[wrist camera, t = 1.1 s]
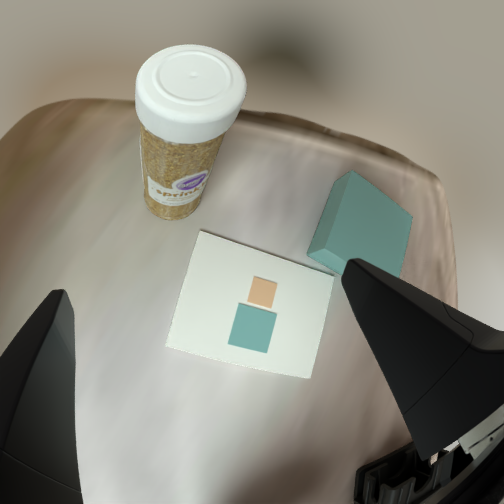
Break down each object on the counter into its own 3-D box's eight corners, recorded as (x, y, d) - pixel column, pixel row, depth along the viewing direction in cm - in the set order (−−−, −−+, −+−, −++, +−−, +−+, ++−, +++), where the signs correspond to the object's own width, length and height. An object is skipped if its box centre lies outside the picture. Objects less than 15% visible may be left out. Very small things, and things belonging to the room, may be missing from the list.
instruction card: (308, 378, 23) (310, 379, 23) (165, 345, 20) (165, 346, 20) (333, 276, 25) (334, 276, 25) (199, 231, 23) (200, 230, 22)
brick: (373, 294, 26) (394, 292, 24) (306, 254, 25) (324, 248, 22) (393, 224, 29) (412, 216, 26) (334, 181, 27) (352, 169, 24)
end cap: (347, 513, 22) (382, 540, 15) (351, 470, 23) (392, 496, 16) (410, 480, 25) (447, 496, 18) (417, 437, 26) (459, 451, 19)
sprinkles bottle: (167, 233, 22) (178, 140, 9) (132, 189, 22) (114, 67, 9) (212, 198, 23) (272, 89, 11) (178, 157, 23) (205, 29, 10)
